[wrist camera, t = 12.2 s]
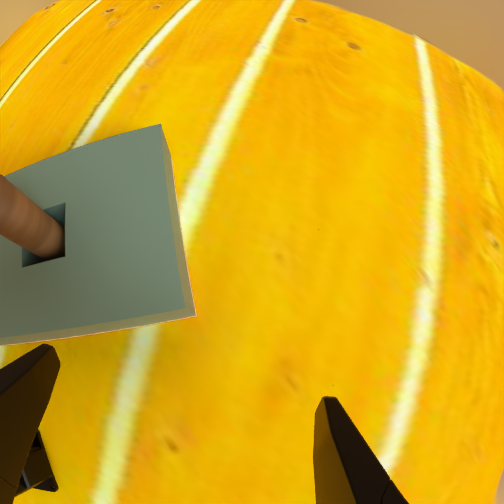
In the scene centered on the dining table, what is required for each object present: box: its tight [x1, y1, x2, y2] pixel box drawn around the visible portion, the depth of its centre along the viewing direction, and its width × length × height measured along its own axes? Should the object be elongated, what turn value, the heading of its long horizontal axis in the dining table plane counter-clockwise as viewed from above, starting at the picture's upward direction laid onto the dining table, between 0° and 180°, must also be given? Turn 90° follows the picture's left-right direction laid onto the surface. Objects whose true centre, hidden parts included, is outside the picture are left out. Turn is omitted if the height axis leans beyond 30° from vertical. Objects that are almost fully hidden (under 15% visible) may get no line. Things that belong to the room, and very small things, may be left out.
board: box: [0, 124, 197, 346], centre depth 21 cm, size 20×14×5 cm
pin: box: [0, 175, 65, 261], centre depth 18 cm, size 3×3×11 cm
